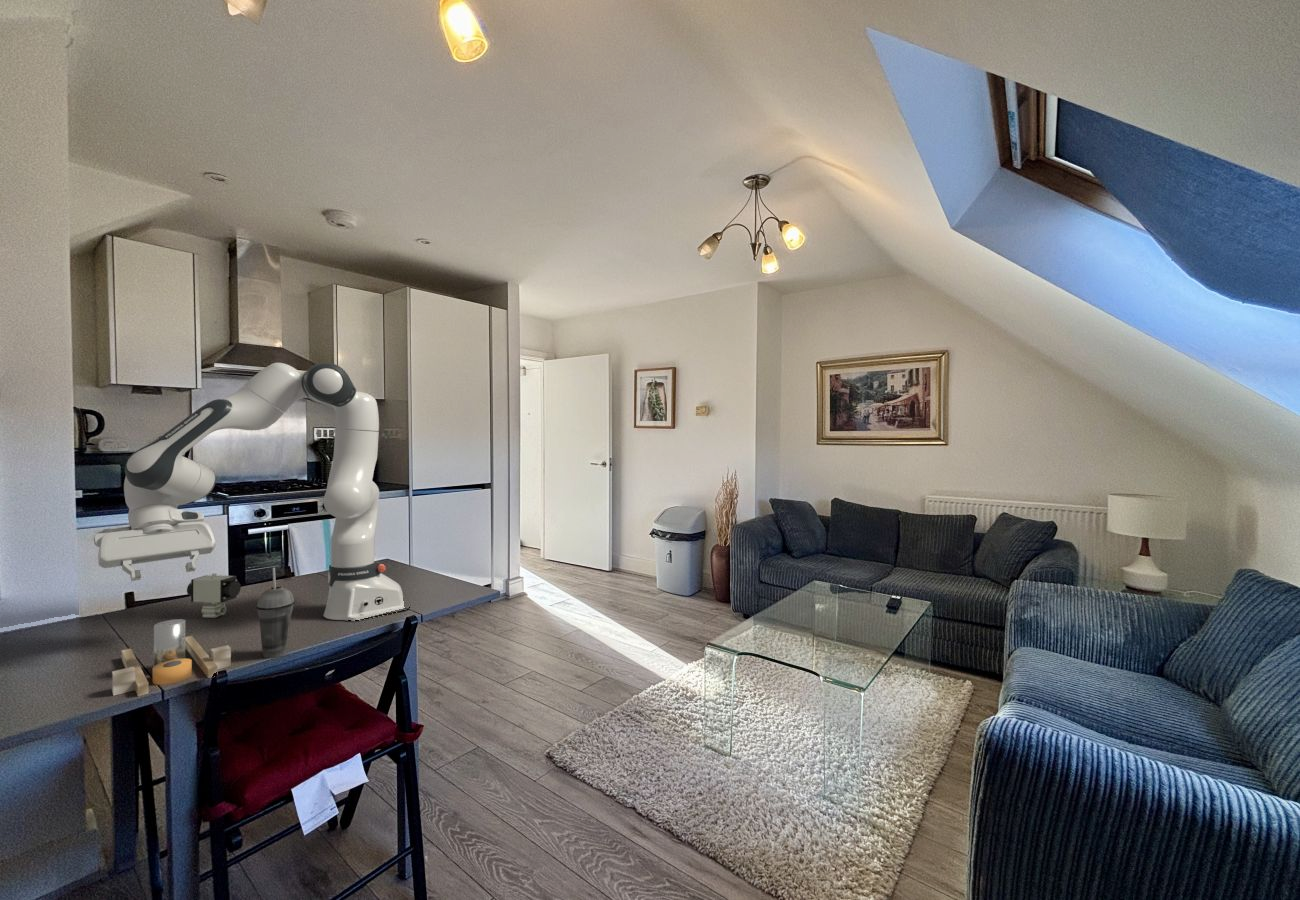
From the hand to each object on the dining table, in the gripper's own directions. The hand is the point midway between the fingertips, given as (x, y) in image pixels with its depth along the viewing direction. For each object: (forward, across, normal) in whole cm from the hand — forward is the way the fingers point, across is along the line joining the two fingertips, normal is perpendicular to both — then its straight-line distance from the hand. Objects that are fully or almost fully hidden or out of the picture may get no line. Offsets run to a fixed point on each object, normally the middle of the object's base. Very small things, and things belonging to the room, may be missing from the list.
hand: (164, 574), depth 121 cm
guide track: (+21, -2, +2) cm, 21 cm away
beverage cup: (+27, +15, -5) cm, 32 cm away
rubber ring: (+26, -2, -3) cm, 26 cm away
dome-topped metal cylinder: (+22, -2, +1) cm, 22 cm away
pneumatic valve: (+1, +14, +29) cm, 33 cm away
